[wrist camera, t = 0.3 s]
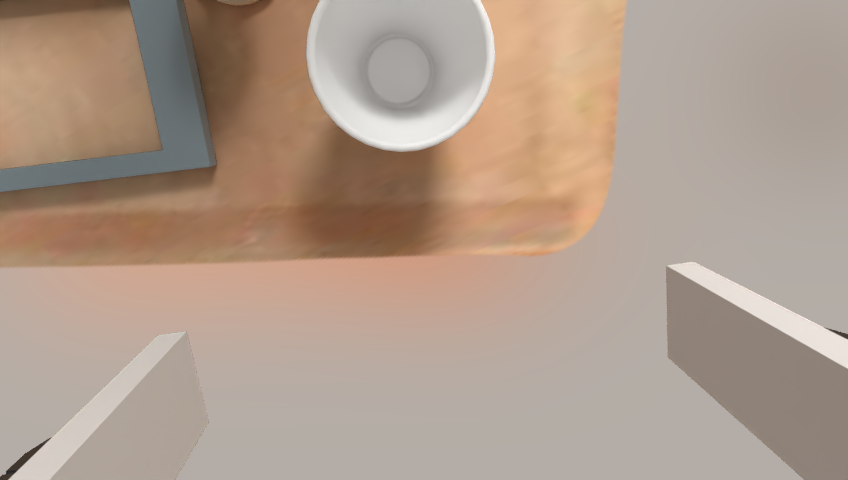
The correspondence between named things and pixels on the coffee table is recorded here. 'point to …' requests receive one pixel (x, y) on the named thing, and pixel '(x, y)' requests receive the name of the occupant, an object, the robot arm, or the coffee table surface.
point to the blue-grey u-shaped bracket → (172, 102)
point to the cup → (400, 68)
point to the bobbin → (238, 2)
